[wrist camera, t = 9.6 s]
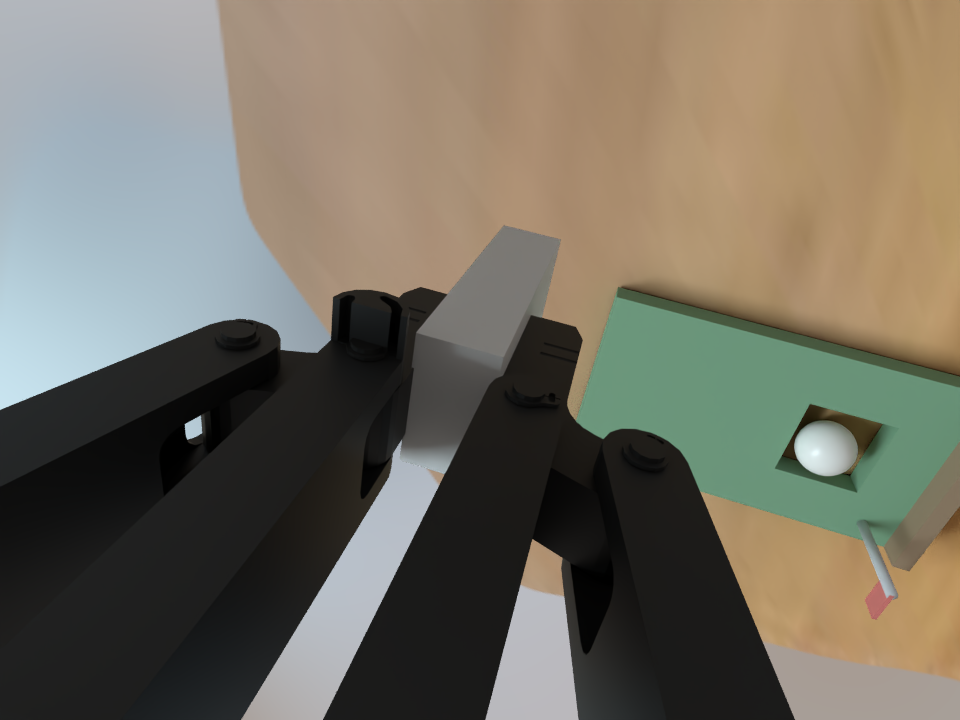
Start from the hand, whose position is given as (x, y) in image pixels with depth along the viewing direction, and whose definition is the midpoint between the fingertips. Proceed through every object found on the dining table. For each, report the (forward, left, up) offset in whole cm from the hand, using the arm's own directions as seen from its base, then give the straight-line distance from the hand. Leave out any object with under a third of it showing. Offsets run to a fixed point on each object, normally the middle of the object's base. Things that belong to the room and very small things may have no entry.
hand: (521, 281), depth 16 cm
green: (+17, +17, -28) cm, 37 cm away
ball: (+17, +21, -26) cm, 38 cm away
